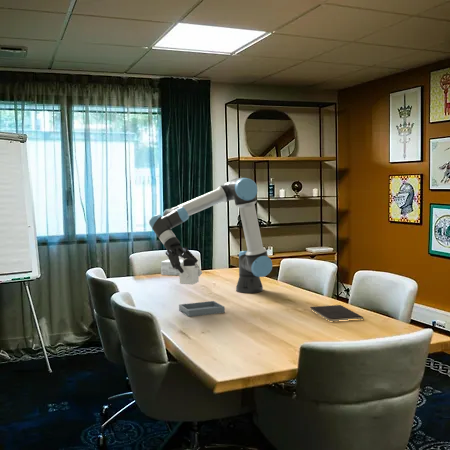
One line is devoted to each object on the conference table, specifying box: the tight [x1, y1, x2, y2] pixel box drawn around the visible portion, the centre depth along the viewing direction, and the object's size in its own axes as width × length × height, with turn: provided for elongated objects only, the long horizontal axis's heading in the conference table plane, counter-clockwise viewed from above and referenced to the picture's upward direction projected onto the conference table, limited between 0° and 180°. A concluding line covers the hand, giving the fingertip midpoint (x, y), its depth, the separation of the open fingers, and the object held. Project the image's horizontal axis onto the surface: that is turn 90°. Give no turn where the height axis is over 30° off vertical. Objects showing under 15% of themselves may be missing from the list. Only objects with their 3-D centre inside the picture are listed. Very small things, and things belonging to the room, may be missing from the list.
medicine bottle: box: [179, 258, 200, 285], centre depth 254 cm, size 7×7×12 cm
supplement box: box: [160, 258, 183, 276], centre depth 361 cm, size 17×13×9 cm
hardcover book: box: [309, 304, 364, 321], centre depth 239 cm, size 16×23×2 cm
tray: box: [178, 300, 226, 317], centre depth 250 cm, size 18×14×3 cm
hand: (194, 275), depth 252 cm, fingers closed on medicine bottle, 9 cm apart
